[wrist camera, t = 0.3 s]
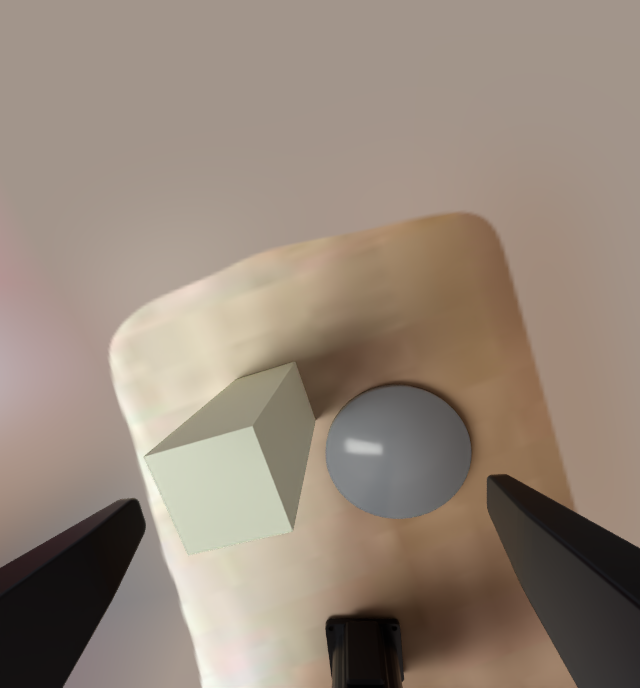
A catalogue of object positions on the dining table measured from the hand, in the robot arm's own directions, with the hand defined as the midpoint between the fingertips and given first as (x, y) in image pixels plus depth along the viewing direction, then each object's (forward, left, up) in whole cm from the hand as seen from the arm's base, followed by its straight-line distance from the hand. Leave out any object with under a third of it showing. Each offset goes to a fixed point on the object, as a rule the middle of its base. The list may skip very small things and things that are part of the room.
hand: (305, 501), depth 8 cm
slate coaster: (-8, -4, -15) cm, 18 cm away
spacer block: (-3, +5, -15) cm, 16 cm away
